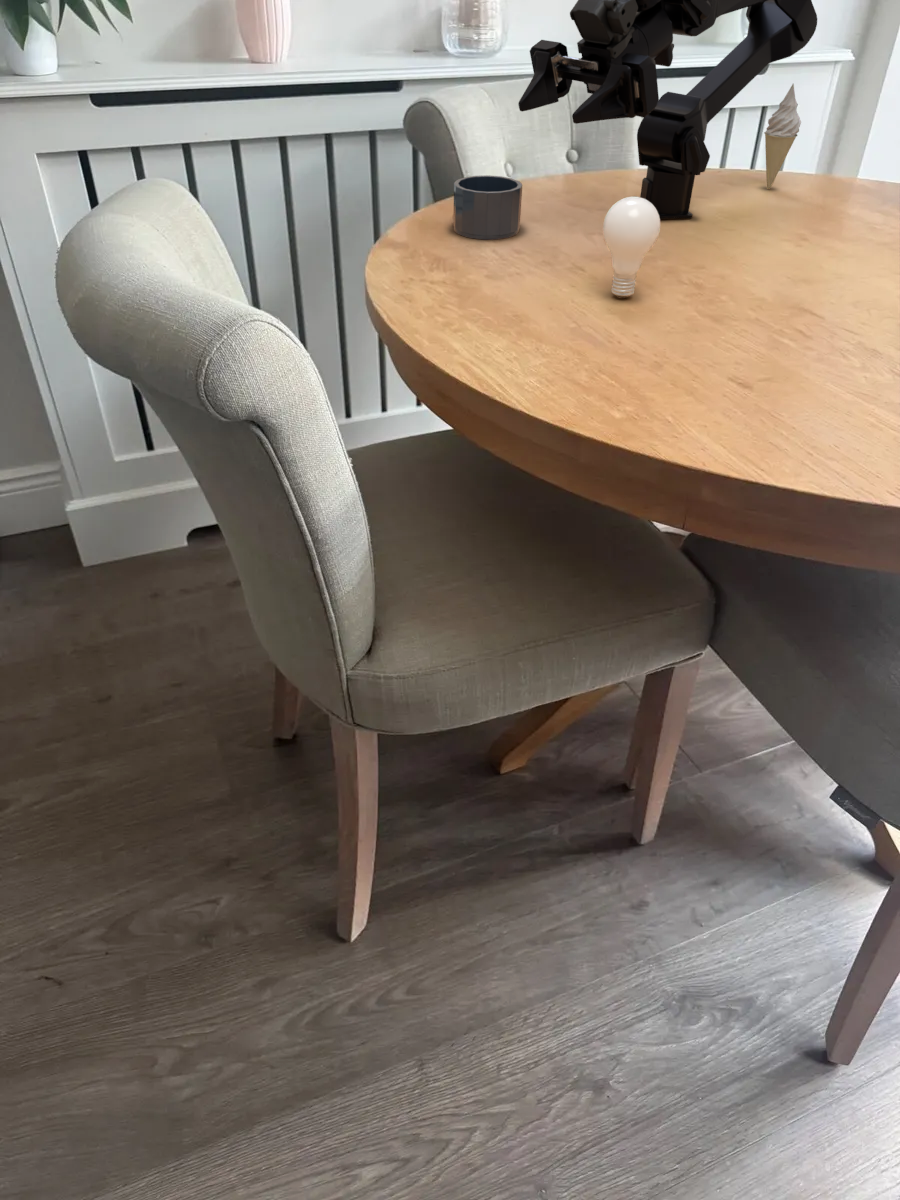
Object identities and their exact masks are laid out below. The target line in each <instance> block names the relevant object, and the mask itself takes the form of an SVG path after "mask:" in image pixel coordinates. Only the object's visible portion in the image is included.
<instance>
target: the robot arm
mask: <svg viewBox="0 0 900 1200" xmlns="http://www.w3.org/2000/svg"><path fill="white" fill-rule="evenodd" d="M745 8H747V9H746V12H745V18H746V19H747V21H748V28H747V33H746V37H744V38H743V39H742V40H741V42H739V43H738V44H737V46H735V47H734V48H733V49H732V50H731V51H730V52H729V53H727V55H726V56H724V57H723V59H721V60H720V61H719V63H717V64H716V65H715V66H714V68H712V69H711V70H710V71H709V72H708V73H707V74H706V75H705V76H703V78H702V79H701V80H700V81H699V82H698V83H697V84H695V85H694V86H693V87H692V88H691V90H689V91H688V92H687V93H686V94H684V93H678V92H673V91H666V92H665V93H664V94H662V95H661V96H660V97H659V87H658V76H657V66H661V67H667V68H669V67H671V66H672V63H673V59H674V53H673V52H674V48H675V44H674V43H673V41H674V35H677V36H684V37H697V36H699V35H701V34H702V33H704V32H706V31H707V30H709V29H710V28H712V27H713V26H714V25H715V23H716V20H717V19H718V18H720V17H721V16H723V15H727V14H730V13H733V12H736V11H739V10H742V9H745ZM569 17H570V19H571V21H573V22H574V24H575V27H576V29H577V31H578V33H579V35H580V37H581V39H580V40H579V41H577V43H576V44H577V51H578V54H581V57H580V58H579V57H573V56H569V54H568V47H567V45H565V44H563V43H562V42H560V41H552V40H545V39H541V40H539V41H538V42H536V43H535V44H534V45H533V46H532V47H530V50H529V55H530V60H531V66H532V71H533V75H532V77H531V80H530V82H529V83H528V85H527V87H526V89H525V91H524V92H523V94H522V96H521V97H520V99H519V101H518V109H519V111H520V112H527V111H531V110H534V109H539V108H541V107H544V106H548V105H549V106H550V105H552V104H556V103H558V102H559V101H560V100H559V99H560V98H561V99H562V98H564V97H565V96H567V95H568V94H569V93H570V90H571V87H572V84H573V81H575V82H580V83H583V84H584V85H585V86H586V92H587V94H591V95H589V96H588V97H587V98H586V99H585V101H583V102H582V103H581V104H580V105H579V106H578V107H577V108H576V109H575V110H574V112H573V113H572V115H571V118H572V123H573V124H576V125H577V124H584V123H593V122H599V121H609V120H617V119H626V118H628V119H634V118H635V117H639V118H642V119H641V121H640V122H639V126H638V128H637V132H636V143H637V154H638V164H639V166H646V167H647V169H646V174H645V175H646V176H645V177H643V178H642V181H641V189H640V195H639V197H641V198H644V199H646V200H648V201H649V202H651V203H652V204H653V205H654V206H655V208H656V209H657V211H658V214H659V217H660V220H672V219H674V220H675V219H692V218H693V216H694V214H693V213H692V212H691V211H690V207H691V206H690V205H691V200H692V196H693V190H694V183H695V177H696V176H701V173H704V172H705V171H706V169H707V166H708V164H709V161H710V158H711V154H710V152H709V150H708V148H707V145H706V144H705V140H706V134H707V130H708V129H707V128H708V124H709V123H710V121H712V119H714V118H715V117H716V116H717V115H718V114H719V113H720V112H721V111H722V110H723V109H724V108H725V107H726V106H727V105H728V104H729V103H730V102H731V101H732V100H733V99H734V98H735V97H736V96H738V94H739V93H740V92H742V90H743V89H745V88H746V86H748V85H749V83H751V82H752V81H753V80H754V79H755V78H756V77H757V76H758V75H759V74H760V73H761V72H763V70H764V69H765V68H766V67H767V66H769V65H770V64H772V63H774V62H777V61H778V62H779V61H781V60H784V59H787V58H790V57H793V56H794V55H795V54H797V53H798V52H799V51H801V50H803V48H805V47H806V46H807V45H808V43H810V40H811V39H812V37H813V36H814V35H815V32H816V30H817V27H818V14H817V12H816V9H815V6H814V4H813V1H812V0H577V1H576V2H575V4H574V6H573V7H572V8H571V9H570V11H569Z"/></svg>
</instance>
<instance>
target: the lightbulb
mask: <svg viewBox="0 0 900 1200" xmlns="http://www.w3.org/2000/svg"><path fill="white" fill-rule="evenodd" d="M660 233H661V219H660V217H659V214H658V211H657V209H656V208H655V206H654V205H653V204H652V203H651V202H649V201H648V200H646V199H644V198H641V197H640V196H635V195H634V196H626V197H623V198H621V199H619V200H618V201H616V202H615V203H614V204H612V206H611V207H610V208H609V209H608V211H607V212H606V214H605V216H604V220H603V223H602V237H603V240H604V243H605V245H606V247H607V249H608V251H609V254H610V258H611V268H612V271H613V274H612V283H611V289H610V292H611V293H612V294H613V295H614V296H616V297H617V298H619V299H626V298H628V297H630V296H633V294H635V288H636V287H635V286H636V281H637V280H636V279H637V274H638V272H639V271H640V269H641V266H642V265H643V264H642V263H643V261H644V259H645V257H646V255H647V254H648V253H649V252H650V251H651V250H652V248H653V247H654V246H655V244H656V243H657V240H658V239H659V236H660Z"/></svg>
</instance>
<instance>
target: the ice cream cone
mask: <svg viewBox="0 0 900 1200" xmlns="http://www.w3.org/2000/svg"><path fill="white" fill-rule="evenodd" d="M798 105H799V104H798V102H797V100H796V94H795V84H794V83H792V84H791V86H790V88H789V89H788V91H787V92H786V95H785V96H784V98H783V99H782V101H780V102H779V108H778V109H777V110H776V111H775V112H773V113H772V114H771V117H769V119H768V121H767V124H768V126H767V127H766V130H765V131H764V132H763V134H764V140H765V141H764V143H765V144H764V145H765V147H764V149H765V173H766V174H765V176H766V179H765V180H766V190H770V189H771V188H772V185H773V184H774V182H775V180H776V178H777V176H778V174H779V172H780V170H781V168H782V166H783V164H784V162H785V160H786V158H787V156H788V153H789V152H790V150H791V147H792V146H793V144H794V142H795V140H796V138H797V137H798V133H799V132H800V127H801V125H802V121H801V118H800V116H799V113H798V111H797V107H798Z"/></svg>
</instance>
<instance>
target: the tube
mask: <svg viewBox="0 0 900 1200" xmlns="http://www.w3.org/2000/svg"><path fill="white" fill-rule="evenodd" d="M522 197H523V183H521V182H520V181H519V180H518V179H515V178H513V177H512V178H511V177H507V176H501V175H487V174H486V175H470V176H465V177H461V178H459V179H456V181H454V182H453V212H452V213H453V221H452V222H453V223H452V225H453V231H454V232H455V233H456V234H457V235H460V236H462V237H464V238H469V239H475V240H485V241H487V240H490V241H491V240H492V241H493V240H503V239H508V238H511V237H514V236H517V234H519V232H520V227H521V214H522V213H521V212H522Z"/></svg>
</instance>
